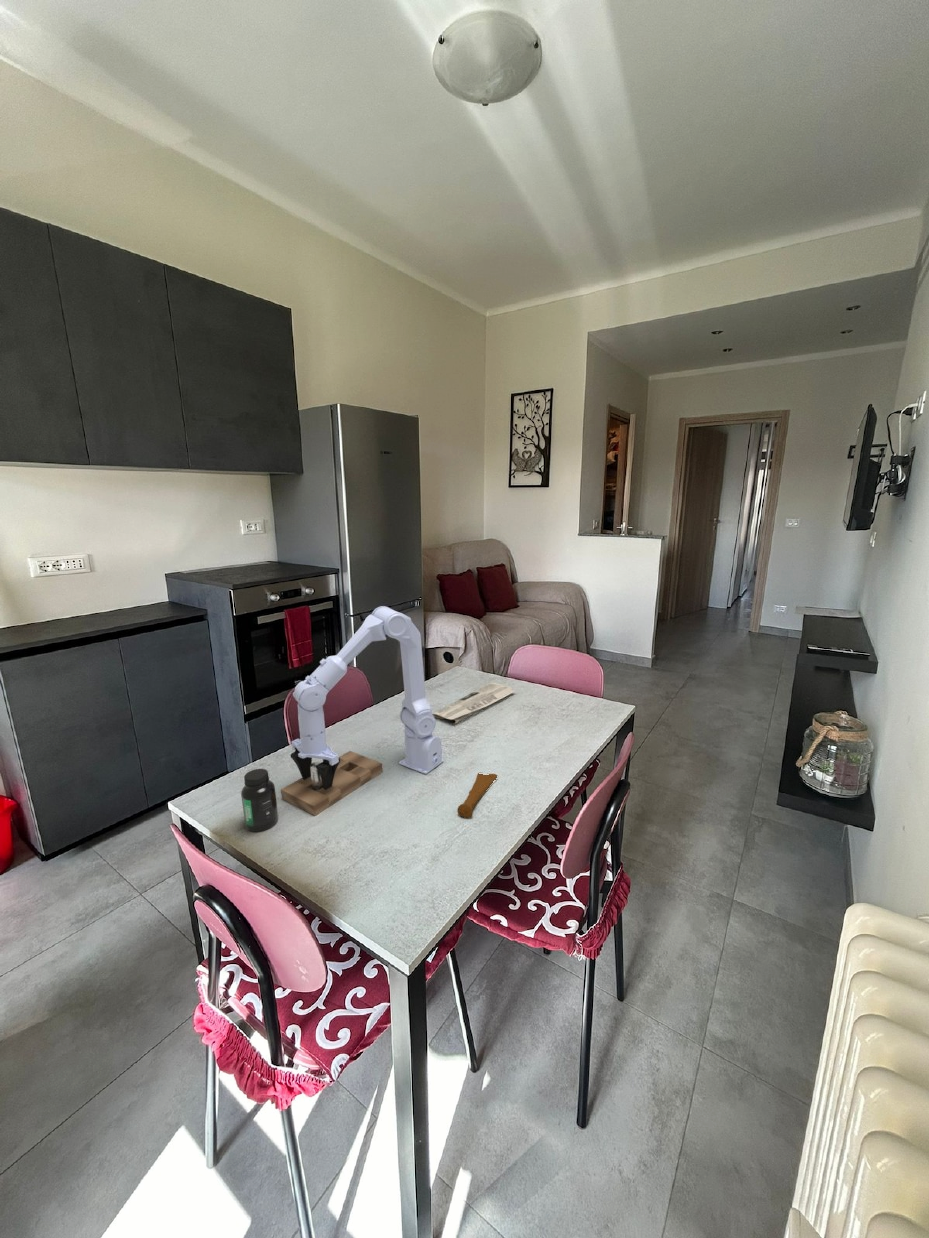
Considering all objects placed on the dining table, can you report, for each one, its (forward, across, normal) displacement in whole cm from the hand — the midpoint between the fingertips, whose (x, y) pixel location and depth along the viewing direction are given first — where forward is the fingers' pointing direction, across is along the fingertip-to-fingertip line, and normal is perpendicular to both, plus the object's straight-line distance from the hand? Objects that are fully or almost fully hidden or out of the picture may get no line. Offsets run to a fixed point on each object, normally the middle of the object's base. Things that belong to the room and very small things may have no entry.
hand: (317, 782), depth 119 cm
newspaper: (+4, +3, +65) cm, 65 cm away
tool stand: (+3, 0, +5) cm, 6 cm away
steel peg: (+3, 0, 0) cm, 3 cm away
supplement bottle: (+3, -2, -14) cm, 15 cm away
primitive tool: (+4, +32, +21) cm, 39 cm away
